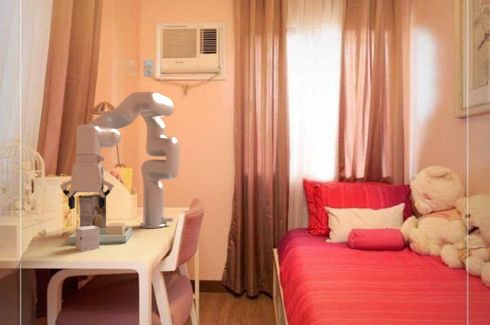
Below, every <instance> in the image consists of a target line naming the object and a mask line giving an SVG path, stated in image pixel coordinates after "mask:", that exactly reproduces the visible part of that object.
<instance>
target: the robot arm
mask: <svg viewBox="0 0 490 325" xmlns="http://www.w3.org/2000/svg"><path fill="white" fill-rule="evenodd" d="M174 109H175V107H174V103H173V101H172V100H171V99H170V98H169V97H166V96H164V95H163V94H160V93H157V92H154V91H136V92H132V93H130V94H128V95H127V96H126V98H124V99H123V100H122V102H121V103H119V105H117V107H115V108H114V109H111V110H109V111H107V112H106V113H103V114H101V115H100V116H97V117H96V118H95V119H92V120H91V121H90V122H89V123H88V124H79V125H77V127H76V141H75V142H76V143H75V144H76V145H75V150H76V151H75V154H76V155H75V163H73V166H72V171H71V178H70V180H68V181H66V182H63V183H62V184H60V185H59V187H60V188H61V190H62V193H63V194H64V195H66V197H67V198H68V199H67V200H68V202H67V206H68V207H69V210H73V209H75V208H76V197H75V195H76V194H77V193H97V194H99V195H100V196H101V198H100V202H99V209H103V208H104V206H105V197H106V198H107V196H108V195H109V194H110V193H111V192H112V190H113V189H114V184H112V183H110V182H108V181H106V180H105V176H104V168H103V164H102V163H101V162H104V161H105V157H104V156H101V148H112V147H116V146H118V145H119V143H120V142H121V139H122V138H121V137H122V136H121V133H120V131H119V130H118V129H123V128H125V127H128V126H131V125H132V124H133V123H134V121H136V119H137V118H138V117H139V116H141V117H142V118H143V120H144V122H145V124H146V140H145V141H146V144H145V151H146V154H147V155H148V156H150V157H156V159H147V160H145V161H144V162H143V163H142V164H141V168H140V171H141V176H142V183H143V185H142V186H143V188H142V189H143V190H142V191H143V193H142V194H143V198H142V200H143V202H142V203H143V204H142V205H143V206H142V211H143V212H142V215H143V216H142V217H143V218H142V222H140V223H139V228H142V229H157V228H164V227H167V225H168V223H173V222H174V217H166V216H165V188H164V184H163V182H162V181H161V180H163V181H171V180H172V181H173V180H176V178H177V177H178V175H179V171H180V170H179V168H180V142H179V140H178V139H177V138H176V137H175V136H166V125H165V123H164V121H163V120H162V118H163V117H164V118H165V117H170V116H172V114H173V113H174ZM161 117H162V118H161ZM157 157H159V158H161V157H162V158H165V159H159V158H158V159H157ZM100 163H101V164H100ZM68 186H70V190H68V188H67V187H68ZM105 186H106V187H107V189H106V190H105ZM104 190H105V191H104Z"/></svg>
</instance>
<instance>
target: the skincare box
mask: <svg viewBox="0 0 490 325" xmlns="http://www.w3.org/2000/svg"><path fill="white" fill-rule="evenodd" d="M75 229H76V230H75V232H76V245H75V248H76V249H77V250H79V251H80V252H85V251H92V250H96V249H100V244H99V229H100V228H98V227H96V226H85V227H80V226H78V227H75Z"/></svg>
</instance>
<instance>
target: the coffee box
mask: <svg viewBox="0 0 490 325" xmlns="http://www.w3.org/2000/svg"><path fill="white" fill-rule="evenodd" d="M100 198H101V196H100V195H99V193H97V194H96V193H94V194H88V195H87V194H86V195H81V196H79V227H85V226H96V227H98V228H100V229H101V228H106V226H107V196H106V197H105V206H104V208H103V209H99V202H100Z"/></svg>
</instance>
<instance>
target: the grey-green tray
mask: <svg viewBox="0 0 490 325" xmlns="http://www.w3.org/2000/svg"><path fill="white" fill-rule="evenodd" d="M132 235H133V227H125V234H124V235H106V228H101V229H99V245H109V244H114V245H115V244H116V245H117V244H126V243H128V241H129V240H130V238H131V237H132ZM67 245H68V246H76V231H75V232H74V233H72V234H71V235H69V236H68V237H67Z"/></svg>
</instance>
